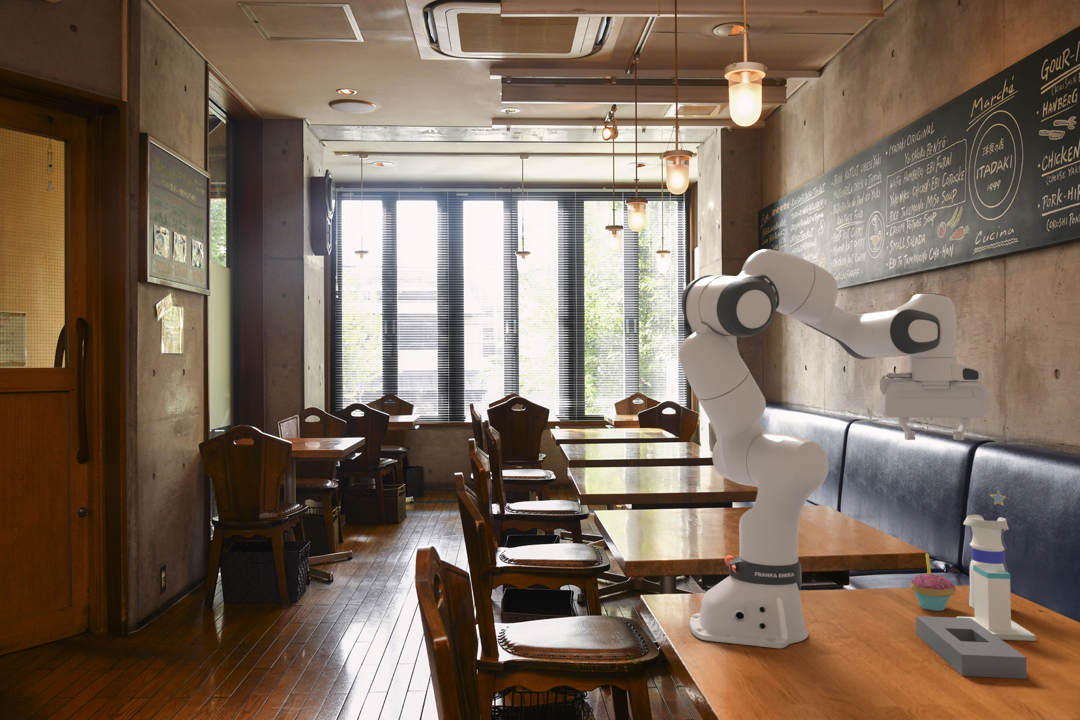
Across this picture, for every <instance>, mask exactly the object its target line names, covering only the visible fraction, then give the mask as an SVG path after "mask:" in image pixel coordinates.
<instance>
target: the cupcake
mask: <svg viewBox="0 0 1080 720" xmlns="http://www.w3.org/2000/svg"><path fill="white" fill-rule="evenodd" d="M925 561H926V562H925V563H926V570H927V573H921V574H919V575H916V576H914V578H912V580H911V584H910V589H911V590H912V591H913V592H914V594H915V596H916V598H917V601H918V604H919V607H920V608H922V609H924V610H928V611H933V612H939V611H941V612H942V611H944V610H946V606H947V603H948V601H949V598H950V597H951V596H954V595H955V594H956V591H957V590H956V587H955V584H954V583H952V581H950V580H949V579H948V578H947V577H944V576H943V575H938V574H934V573H932V571H931V561H930V554H929V553H928V549H925Z"/></svg>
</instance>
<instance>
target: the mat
mask: <svg viewBox="0 0 1080 720" xmlns="http://www.w3.org/2000/svg"><path fill="white" fill-rule="evenodd" d="M955 618H971V619H973V620H974V621H975V617H974V616H956V617H955ZM975 622H976V621H975ZM977 623H978V622H977ZM978 624H979V623H978ZM980 625H981V624H980ZM981 626H982V625H981ZM984 628H985V627H984ZM985 629H986V628H985ZM987 630H988V629H987ZM988 631H990V632H991V633H992V634H994V635H995V636H997V637H998V638H999V639H1001V640H1002V641H1003V640H1004V641H1005V640H1007V641H1009V640H1010V641H1031V642H1036V640H1037V637H1036V635H1035V634H1034V633H1033V632H1030V631H1029V630H1028V629H1026V628H1024V627H1023V626H1021V625H1020V624H1018V623H1017V622H1015V621H1013V620H1012V619H1011V631H993V630H988Z"/></svg>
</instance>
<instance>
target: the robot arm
mask: <svg viewBox="0 0 1080 720" xmlns="http://www.w3.org/2000/svg"><path fill="white" fill-rule="evenodd" d="M838 290H839V289H838V282H837V280H836V278H835V276H834V275H833V274H832V273H830V272H829V271H828V270H826V269H825V268H824V267H822V266H819V265H818V264H816V263H813V262H812V261H811V262H810V261H809V260H806V259H804V258H802V257H799V256H796V255H793V254H791V253H787V252H783V251H779V250H774V249H770V248H769V249H768V248H767V249H766V248H763V249H760V250H757V251H755V252H753V253H752V254H750V256H748V258H747V259H746V260H745V262H744V263H743V266H742V269H741V271H740V273H739V274H738V275H735V276H734V275H728V274H719V275H714V274H713V275H711V274H710V275H703V276H700V277H698V278H696V279H694V280H692V281H691V282H690V283H688V285H687V286H686V287H685V288H684V290H683V293H682V295H681V311H682V314H683V323H684V325H683V326H684V329H685V330H686V332H687V333H689V334H690V335H688V336H687V337H686V338H685V339H684V341H683V342H682V343H681V345H680V347H679V350H678V356H679V361H680V365H681V367H682V370H683V372H684V374H685V377H686V380H687V382H688V383H689V385H690V387H691V389H692V392H693V394H694V396H696V399H697V400H698V401H699V404H700V405H701V408H702V409H703V411H704V412H705V414H706V416H707V418H708V419H709V421H710V423H711V425H712V427H713V430H714V433H715V437H716V442H715V444H714V446H713V448H712V455H711V456H712V457H711V458H712V463H713V464H712V465H713V467H714V469H715V471H716V472H717V473H718V474H719V475H720V476H722V477H724V478H725V479H727V480H729V481H732V482H733V483H736V484H738V485H741V486H742V485H743V486H749V487H753V488H754V487H755V488H757V494H756V498H755V501H754V504H753V506H752V507H751V508H749V509H747V510H746V511H745V512H744V513H743V514H742V515H741V516H740V518H739V520H738V521H739V522H738V524H739V526H738V527H739V530H738V533H739V538H738V540H739V541H738V542H739V543H738V544H739V555H738V556H735V557H734V556H733V555H730V554H728V555H726V556H725V557H724V563H725V565H726V566H727V567H728V568H729V569H728V571H729V572H728V573H729V576H727V577H726V578H724V579H723V580H721V581H720V582H718V583H717V584H715V585H714V586H713V587H711V588H709V589H708V590H707V591H706V592H705V594H704V596H703V598H702V601H701V605H700V610H699V611H700V612H697V613H694V614H693V615H691V617H690V619H689V629H690V632H691V633H692V634H693V635H694V636H695V637H696V638H698V639H700V640H702V641H708V642H717V643H719V642H720V643H726V644H727V643H728V644H737V645H745V646H752V647H753V646H756V647H762V648H763V647H764V648H774V649H783V648H786V647H787V646H789V645H791V644H794V643H798V642H802V641H804V640H806V639H807V638H808V637H809V632H808V629H807V626H806V622H805V618H804V614H803V609H802V603H801V592H800V591H801V588H802V567H801V561H800V560H799V529H800V528H799V527H800V519H801V515H802V512H803V509H804V506H805V505H806V502H807V501H808V499H809V497H810V496H811V495H812V494H813V493H814V492H816V491H817V490H818V489H820V488H821V487H822V486H823V484H824V482H826V479H827V477H828V473H829V459H828V456H827V453H826V451H825V448H824V447H823V446H822V445H821V444H820V443H818V442H817V441H814V440H812V439H811V440H810V439H808V438H805V437H802V436H798V435H795V434H784V433H772V432H769V431H767V430H766V429H765V428H764V427H763V426H762V425H763V424H762V422H761V419H762V417H763V415H764V412H765V410H766V406H767V405H766V404H767V403H766V398H765V396H764V395H763V393H762V391H761V389H760V387H759V385H758V384H757V382H756V380H755V379H754V377H753V375H752V373H751V370H749V368H748V366H747V364H746V363H745V361H744V359H742V357H741V355H740V352H739V348H738V342H737V341H738V340H737V338H749V337H753V336H756V335H759V334H760V333H762V332H763V331H765V330H766V328H767V327H769V325H770V324H771V322H772V321H773V318H774V317H775V314H776V312H778V313H779V314H782V315H784V316H787V317H789V318H791V319H794V320H797V321H799V322H800V323H802V324H804V325H806V326H807V327H809V328H811V329H813V330H815V331H816V332H819V333H821V334H823V335H825V336H826V337H829V338H830V339H832V340H834V341H836V342H837V343H838V344H839V345H840V346H841V347H842V349H844V350H845V351H846V353H847V354H849V356H851V357H853V358H855V359H857V360H870V359H876V358H892V357H893V358H894V357H895V358H896V357H907V356H908V372H899V373H896V372H888V373H886V374H885V375H883V376H882V377H881V379H880V381H879V389H880V390H879V391H880V392H881V396H880V406H879V413H880V414H881V416H882V417H885V418H898V424H899V425H900V428H902V430H903V431H904V440H907V441H915V440H916V431H914V430H911V429H910V427H909V425H908V424H909V423H910V418H914V419H915V418H919V419H920V418H924V419H925V418H930V419H931V418H932V419H933V418H944V419H945V418H947V419H948V418H950V419H951V418H953V419H954V418H955V419H956V418H957V419H958V420H957V421H958V423H960V425H959V426H958V428H957V430H953V431H952V438H953V440H955V441H964V440H965V432H966V431H967V429H968V427H969V426H970V424H971V418H972V419H973V418H975V419H976V418H979V419H981V418H987V416H988V415H989V414H990V411H991V410H990V409H991V408H990V406H991V405H990V397H989V392H988V388H987V386H986V385H985V383H983V382H982V381H984V379H985V373H984V371H983V370H980V369H978V368H973V367H970V366H966V365H963V364H961V363H958V354H957V351H956V347H955V346H956V345H955V344H956V340H957V338H958V337H957V336H958V335H957V317H956V309H955V306H954V303H953V301H952V298H950V297H948V296H947V295H944V294H940V293H934V292H933V293H929V292H925V293H923V292H921V293H917V294H913V295H912V296H911V298H910V299H909V301H907V302H906V303H904V304H902V305H901V306H898V307H895V308H894V309H888V310H880V311H873V312H857V313H855V312H854V313H852V312H848V311H846V310H844V309H843V308H841V307H839V306H837V305H836V304H837V299H838V293H839V291H838Z"/></svg>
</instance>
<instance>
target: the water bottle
mask: <svg viewBox="0 0 1080 720" xmlns="http://www.w3.org/2000/svg"><path fill="white" fill-rule="evenodd" d="M990 497H992V499H994V502H993V505H997V504H999V505H1001V506H1003V507H1004V502H1003V501H1004V500H1005V499H1006V498H1007V496H1006V495H1002V494H1001V492H1000V491H999V490H997V492H996V493H995V494H990ZM1007 522H1008V521H1007V519H1006V518H1004V517H1001V516H999V517H998V518H997V519H996V520H985V519H984V517H983V516H982V515H979V514H969V515H967V516H966V518H965V520H964V521H963V523H962V524H963V525H965V526H966V527H970V529H971V533H972V535H971V540H970V542H968V545H969V546H970V547H971V549H970V551H971V553H970V555H971V557H970V561H969V566H968V571H969V572H968V574H969V575H968V576H969V577H968V578H969V579H968V581H969V585H968V587H969V588H968V606H969V607H970V608H972V609H974V570H973V565H986V566H996V567H998V568H1000V569H1002V570H1004V571H1006V572H1008V566H1007V563H1006V550H1007V548H1008V547H1007V546H1006V544H1005V541H1004V532H1005V531H1009V530H1010V528H1009V525H1008V523H1007ZM1008 573H1009V572H1008Z"/></svg>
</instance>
